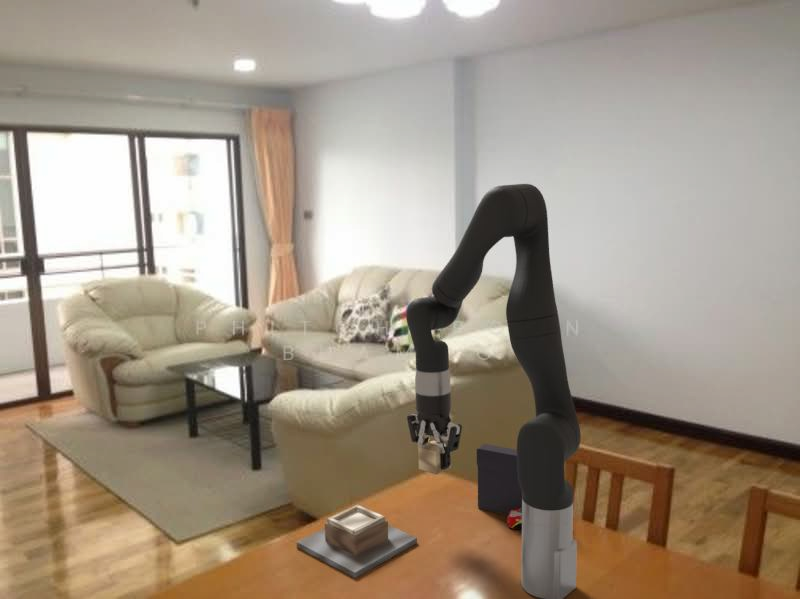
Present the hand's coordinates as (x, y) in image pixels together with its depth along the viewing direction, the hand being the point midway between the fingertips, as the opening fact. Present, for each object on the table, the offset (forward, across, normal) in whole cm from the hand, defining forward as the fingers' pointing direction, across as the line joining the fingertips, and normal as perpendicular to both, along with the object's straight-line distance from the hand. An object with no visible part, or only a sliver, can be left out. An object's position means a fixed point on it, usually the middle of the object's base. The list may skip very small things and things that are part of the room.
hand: (434, 464), depth 151 cm
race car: (+16, -16, -16) cm, 27 cm away
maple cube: (+1, 0, 0) cm, 1 cm away
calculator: (+15, -6, -17) cm, 23 cm away
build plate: (+15, +8, +16) cm, 23 cm away
